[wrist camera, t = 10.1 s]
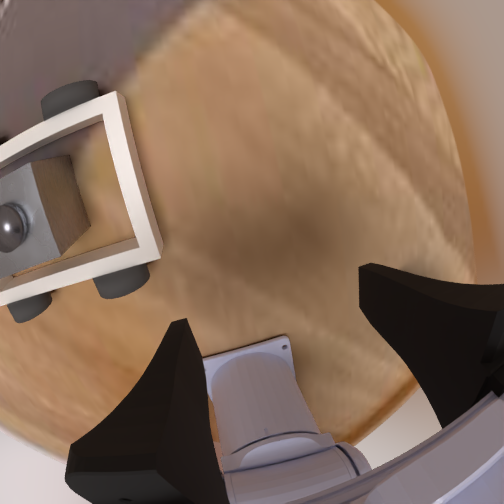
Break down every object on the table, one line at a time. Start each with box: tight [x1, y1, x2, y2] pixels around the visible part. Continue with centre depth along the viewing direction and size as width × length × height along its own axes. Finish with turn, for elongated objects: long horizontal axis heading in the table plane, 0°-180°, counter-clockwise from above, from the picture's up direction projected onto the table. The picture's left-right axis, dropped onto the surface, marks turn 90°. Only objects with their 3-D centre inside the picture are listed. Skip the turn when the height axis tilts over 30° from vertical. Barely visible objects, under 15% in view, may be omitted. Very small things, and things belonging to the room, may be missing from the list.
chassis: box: [0, 80, 164, 323], centre depth 15 cm, size 12×14×4 cm
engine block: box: [0, 155, 91, 279], centre depth 13 cm, size 5×5×6 cm
